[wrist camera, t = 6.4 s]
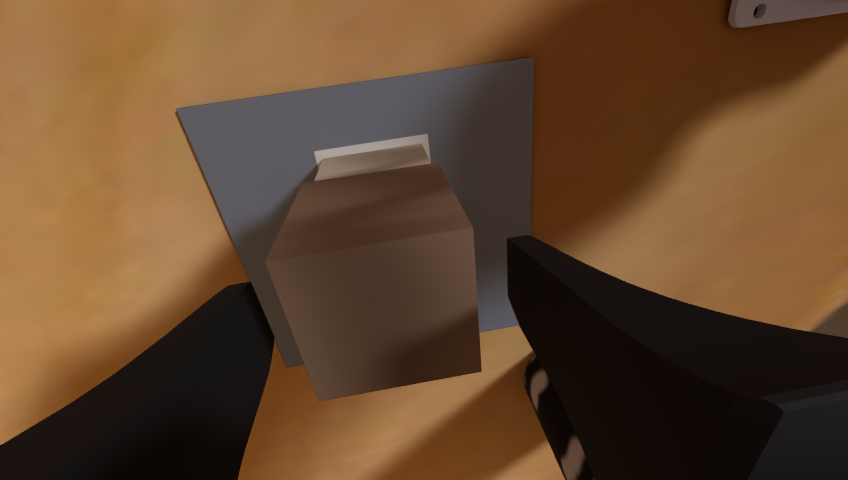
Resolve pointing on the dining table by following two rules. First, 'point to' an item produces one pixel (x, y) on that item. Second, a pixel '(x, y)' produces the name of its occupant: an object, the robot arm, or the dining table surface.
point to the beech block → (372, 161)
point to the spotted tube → (556, 423)
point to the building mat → (368, 131)
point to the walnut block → (379, 281)
